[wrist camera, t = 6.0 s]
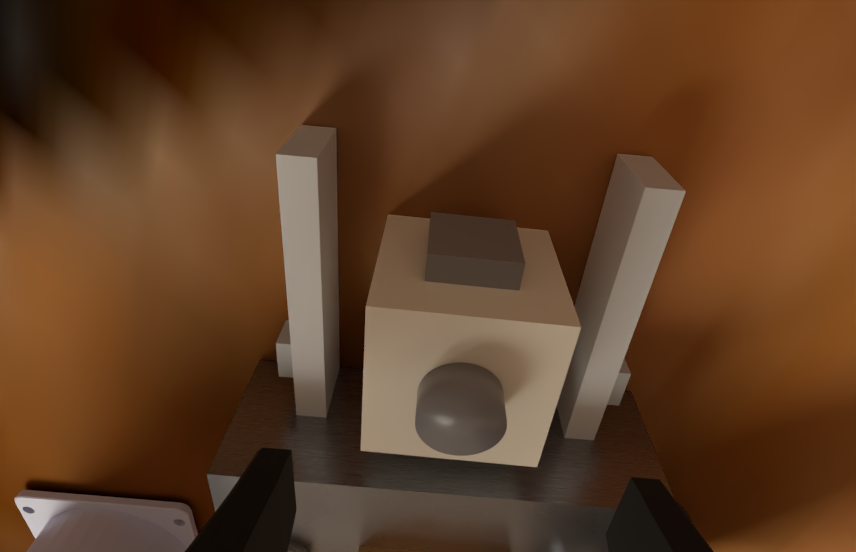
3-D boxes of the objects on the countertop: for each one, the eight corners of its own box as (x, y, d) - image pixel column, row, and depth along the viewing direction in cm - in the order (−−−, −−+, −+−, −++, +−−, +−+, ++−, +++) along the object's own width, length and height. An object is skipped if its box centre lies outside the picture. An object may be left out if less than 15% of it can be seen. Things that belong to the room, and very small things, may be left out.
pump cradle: (594, 388, 20) (611, 441, 17) (297, 363, 19) (278, 413, 17) (673, 158, 15) (710, 193, 13) (279, 122, 15) (250, 152, 13)
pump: (517, 351, 19) (542, 499, 14) (380, 338, 19) (354, 481, 14) (553, 205, 16) (601, 326, 11) (389, 189, 16) (360, 302, 11)
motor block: (591, 490, 23) (633, 652, 18) (272, 463, 23) (218, 619, 17) (630, 391, 20) (696, 553, 14) (259, 359, 19) (188, 511, 14)
